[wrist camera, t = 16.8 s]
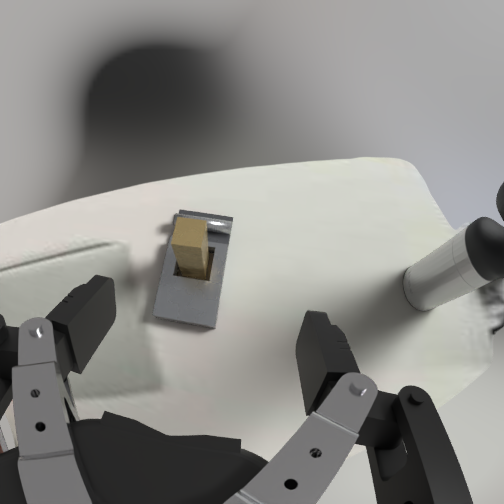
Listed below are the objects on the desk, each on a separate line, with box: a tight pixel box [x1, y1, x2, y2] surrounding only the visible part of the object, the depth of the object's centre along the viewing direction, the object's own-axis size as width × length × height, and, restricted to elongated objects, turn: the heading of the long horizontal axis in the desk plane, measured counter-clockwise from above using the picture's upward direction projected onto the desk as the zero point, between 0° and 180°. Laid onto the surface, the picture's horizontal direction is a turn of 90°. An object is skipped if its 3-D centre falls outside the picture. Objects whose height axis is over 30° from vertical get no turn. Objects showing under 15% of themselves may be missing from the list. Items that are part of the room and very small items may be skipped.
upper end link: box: [153, 236, 228, 329], centre depth 42 cm, size 9×12×2 cm
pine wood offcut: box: [171, 217, 209, 280], centre depth 39 cm, size 4×4×12 cm
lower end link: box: [173, 210, 233, 294], centre depth 44 cm, size 9×13×3 cm
